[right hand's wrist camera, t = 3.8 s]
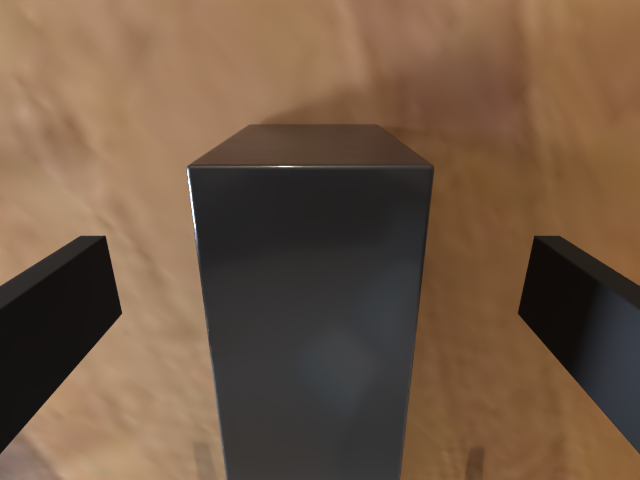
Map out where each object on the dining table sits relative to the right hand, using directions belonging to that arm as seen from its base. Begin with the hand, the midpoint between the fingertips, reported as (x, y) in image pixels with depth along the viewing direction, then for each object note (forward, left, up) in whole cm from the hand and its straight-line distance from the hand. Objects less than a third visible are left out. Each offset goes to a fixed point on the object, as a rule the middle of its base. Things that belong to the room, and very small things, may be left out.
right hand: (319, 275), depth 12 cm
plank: (0, -9, -3) cm, 9 cm away
